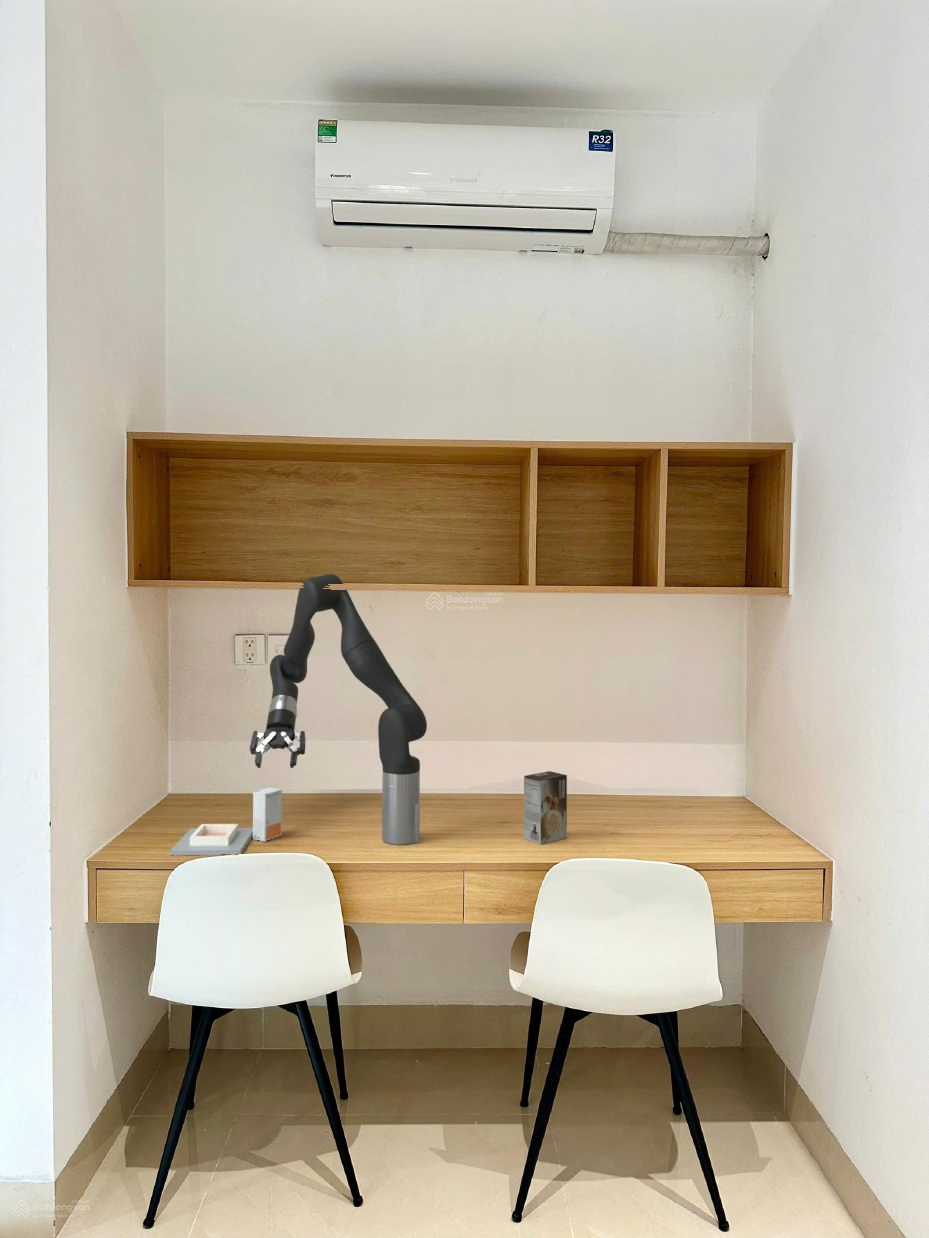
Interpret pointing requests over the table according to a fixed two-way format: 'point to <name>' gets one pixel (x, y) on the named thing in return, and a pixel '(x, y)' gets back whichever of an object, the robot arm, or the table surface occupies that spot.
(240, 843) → the board
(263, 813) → the skincare box
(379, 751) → the robot arm
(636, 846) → the table surface
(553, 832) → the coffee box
